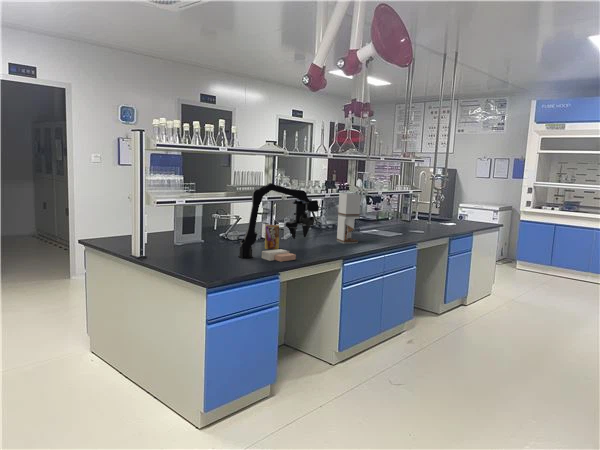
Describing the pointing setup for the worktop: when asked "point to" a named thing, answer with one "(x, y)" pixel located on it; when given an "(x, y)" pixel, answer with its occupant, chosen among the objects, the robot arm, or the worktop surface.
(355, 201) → the tall white box
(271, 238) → the candy box
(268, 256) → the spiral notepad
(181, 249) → the worktop surface
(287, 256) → the pink rectangular slab
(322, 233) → the worktop surface
